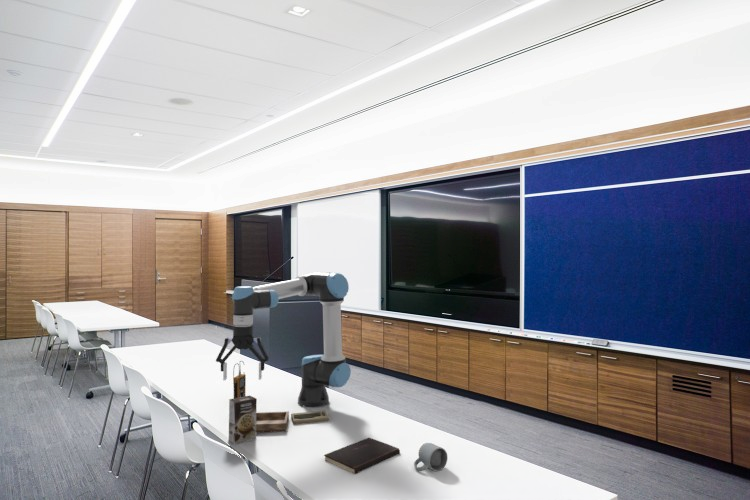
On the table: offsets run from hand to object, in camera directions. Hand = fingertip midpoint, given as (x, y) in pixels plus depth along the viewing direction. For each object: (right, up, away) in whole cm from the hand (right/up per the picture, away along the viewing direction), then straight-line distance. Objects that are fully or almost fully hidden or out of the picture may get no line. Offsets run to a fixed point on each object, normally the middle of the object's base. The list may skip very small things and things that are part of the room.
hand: (242, 379), depth 189 cm
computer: (+24, -25, +22) cm, 41 cm away
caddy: (+8, -24, +15) cm, 29 cm away
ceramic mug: (+71, -24, -25) cm, 79 cm away
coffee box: (0, -24, 0) cm, 24 cm away
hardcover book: (+48, -25, -16) cm, 56 cm away
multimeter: (-11, -25, +47) cm, 54 cm away
